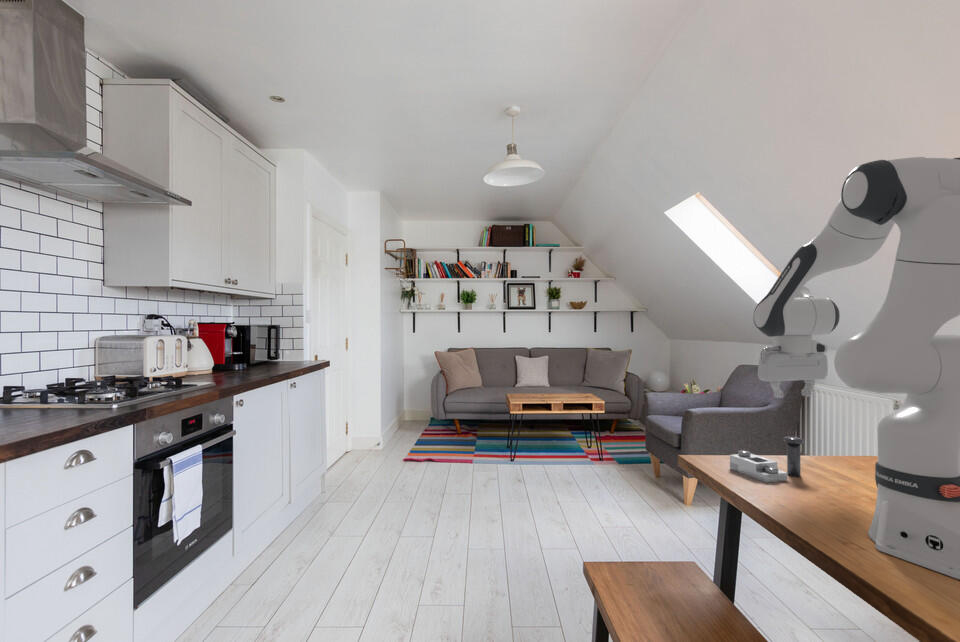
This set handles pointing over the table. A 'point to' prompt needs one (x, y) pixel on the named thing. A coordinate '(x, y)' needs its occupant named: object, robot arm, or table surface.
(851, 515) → the table surface
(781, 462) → the table surface
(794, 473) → the pin
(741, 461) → the slotted ball-knob block
